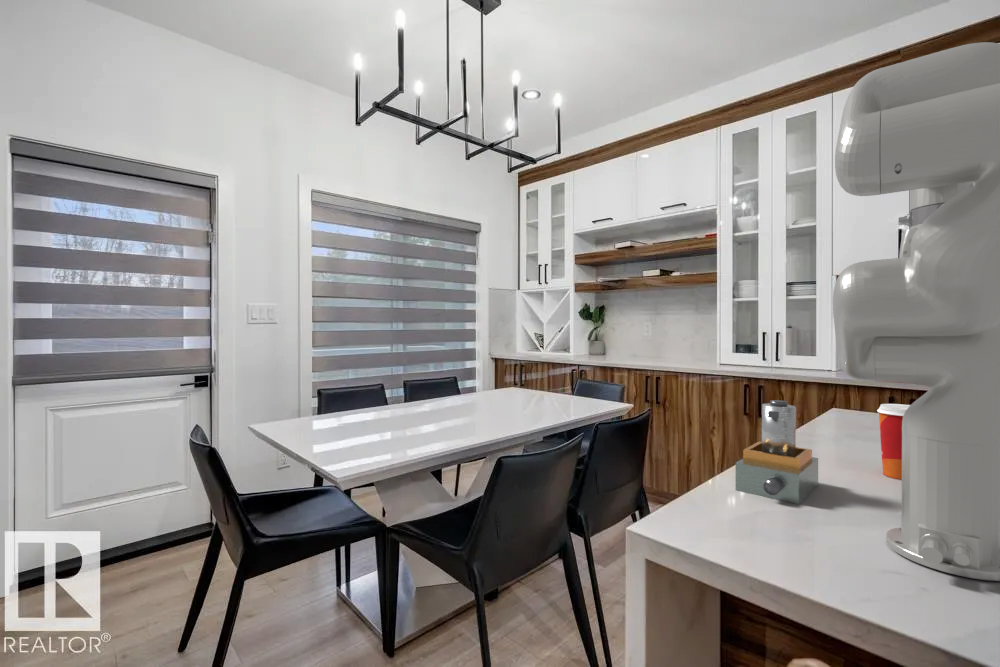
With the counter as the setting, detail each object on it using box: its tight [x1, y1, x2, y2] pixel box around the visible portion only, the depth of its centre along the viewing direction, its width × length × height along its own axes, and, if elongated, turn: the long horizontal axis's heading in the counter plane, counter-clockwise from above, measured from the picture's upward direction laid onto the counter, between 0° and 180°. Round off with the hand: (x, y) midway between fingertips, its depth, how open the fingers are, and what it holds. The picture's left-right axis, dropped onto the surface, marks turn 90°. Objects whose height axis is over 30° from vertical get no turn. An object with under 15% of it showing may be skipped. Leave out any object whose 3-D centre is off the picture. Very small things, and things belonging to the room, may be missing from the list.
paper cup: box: [876, 403, 911, 481], centre depth 93 cm, size 8×8×14 cm
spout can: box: [761, 399, 797, 457], centre depth 87 cm, size 7×5×11 cm
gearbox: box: [735, 441, 819, 505], centre depth 87 cm, size 16×10×7 cm, turn 135°
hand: (939, 323), depth 77 cm, fingers open, 9 cm apart
